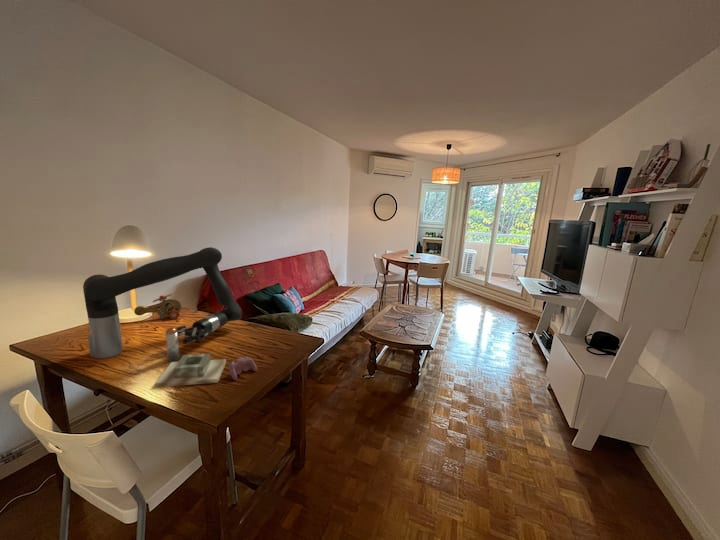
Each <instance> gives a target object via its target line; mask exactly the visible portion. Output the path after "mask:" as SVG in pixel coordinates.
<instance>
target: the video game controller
mask: <svg viewBox="0 0 720 540" xmlns="http://www.w3.org/2000/svg"><path fill="white" fill-rule="evenodd" d="M241 366H242V369H241ZM250 368H251V369H252V370H253V372H257V371H258V367H257V365H256V363H255V361H254V359H253V358H252V357H249V356H242V357H239V358H237V359H235V360H233V361H231V363H229V365H228V367H227V369H228V371H229V375H230V376H231V378H232V380H234V381H237V379H238V375H240V374H241V373H242V371H243V372H248V371H249V369H250Z"/></svg>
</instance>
